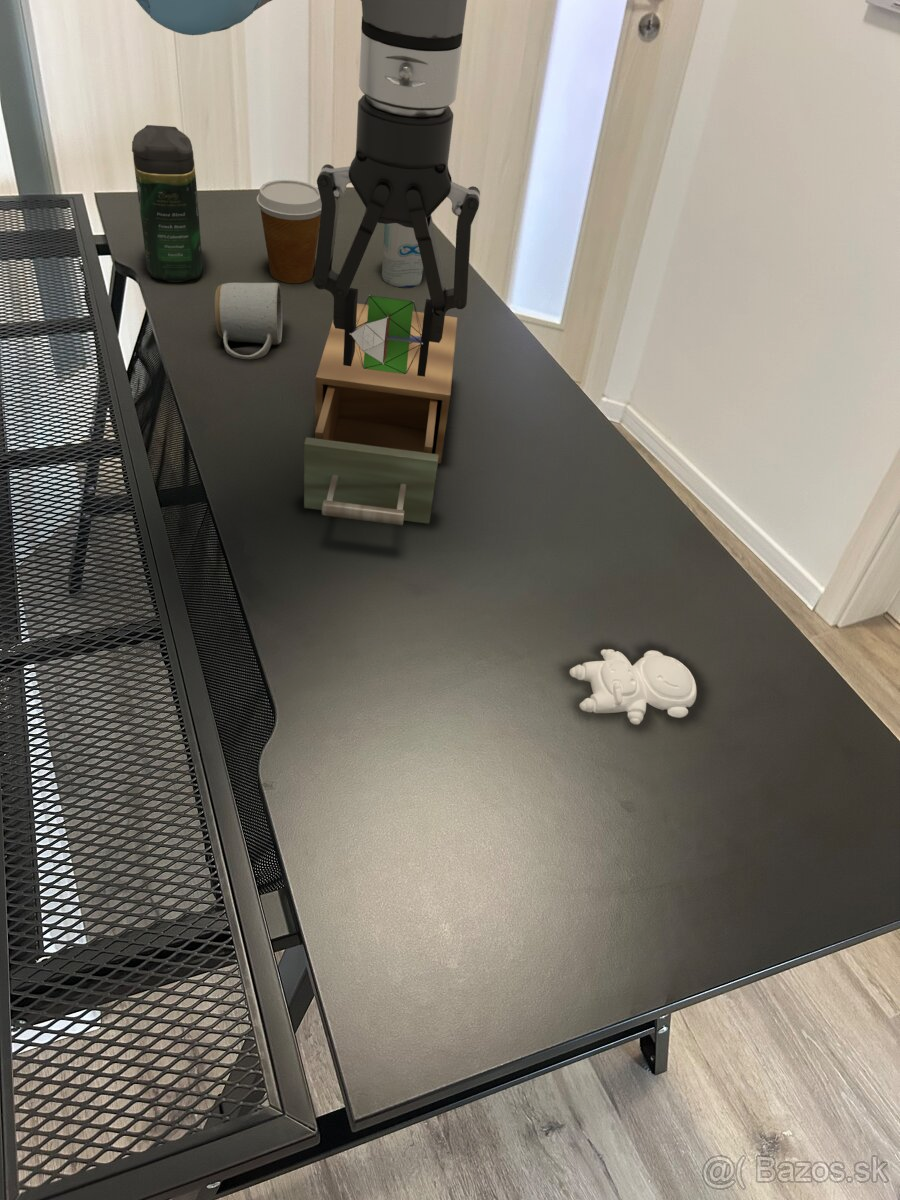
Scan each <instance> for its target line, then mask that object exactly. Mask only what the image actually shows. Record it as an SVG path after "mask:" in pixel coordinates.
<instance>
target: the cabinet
mask: <svg viewBox="0 0 900 1200" xmlns="http://www.w3.org/2000/svg"><path fill="white" fill-rule="evenodd" d="M364 305H365V304H364V303H357V317H356V321H357V322H358V324H357V322H356V325H357V326H359V325H361V324H363V323H365V322H367V317H368V305H369V304H366V305H365V308H363V307H364ZM362 309H364V310H362ZM361 311H363V312H361ZM360 313H362V314H360ZM359 315H360V316H361V317H360V316H359ZM416 315H418V316H417V317H416ZM358 317H359V318H360V319H359V318H358ZM418 318H419V320H418ZM423 318H424V312H423V311H421V312H420V311H417V313H416V312H415V310H413V313H412V322H411V325H412V326H413V327H414V328H415V329H416V330H417V331H418V332H419V329H420V332H419V333H420V334H422V330H421V329H422V327H423ZM357 319H358V320H359V321H358V320H357ZM417 320H418V322H417ZM419 322H420V323H419ZM365 324H366V323H365ZM418 324H419V327H418ZM363 325H364V324H363ZM363 325H361V326H363ZM420 325H421V327H420ZM357 326H356V327H357ZM361 326H359V327H357V328H360V327H361ZM412 326H411V332H410V334H411V335H413V336H419V337H422V335H421V336H420V334H419V333H418V332H417V331H416V330H415V329H414V328H413V327H412ZM457 326H458V317H456V316H450V315H445V319H444V327H443V334H442V339H441V341H440V343H436V342H429V349H428V358H427V366H426V373H425V377H423V376H417V373H418V364H419V355H420V349H418V347H419V346H418V345H420V343H415V342H413V343H410V342H409V343H410V344H409V350H410V349H412V348H414V347H416V346H417V347H416V348H414V349H412V350H410V351H408V361H407V370H408V368H409V366H410V364H411V362H412V360H413V362H412V364H411V366H410V368H409V370H408V372H407V370H406V372H407V373H406V374H407V375H405V374H401V373H393V372H385V371H378V370H370V369H363V367H362V366H364V354H365V352H363V351H362V349H361V348H360V350H359V345H358V344H357V343H356V341H355V347H356V348H355V353H354V357H353V361H352V364H351V366H345V365H343V358H344V333H345V330H344V329H337V328H335V326H334V324H333V321H332V322H331V326H330V328H329V332H328V335H327V338H326V342H325V345H324V348H323V352H322V355H321V359H320V362H319V365H318V369H317V371H316V375H315V403H314V406H315V408H314V410H315V412H314V416H315V417H314V432H315V431H316V428H317V424H318V420H319V417H320V413H321V410H322V406H323V402H324V399H325V395H326V392H327V388H328V385H333V386H340V387H348V388H355V389H362V390H370V391H377V392H385V393H392V394H399V395H407V396H414V397H422V398H429V399H436V400H438V401H439V409H438V419H437V426H436V427H437V428H436V437H435V439H436V440H435V446H434V447H435V448H434V454H438V455H439V457H438V464H441V463H442V457H443V450H444V443H445V437H446V429H447V423H448V415H449V407H450V400H451V393H452V381H453V372H454V371H453V370H454V361H455V360H454V359H455V349H456V338H457ZM420 346H421V345H420ZM419 348H420V347H419ZM417 349H418V350H419V351H417ZM356 350H357V351H356ZM360 352H361V355H360ZM416 352H418V353H416ZM415 354H417V355H415ZM358 355H359V356H358ZM414 356H416V357H414ZM361 357H362V360H361ZM359 358H360V359H359ZM413 358H414V359H413ZM362 362H363V365H362V364H361V363H362Z"/></svg>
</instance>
